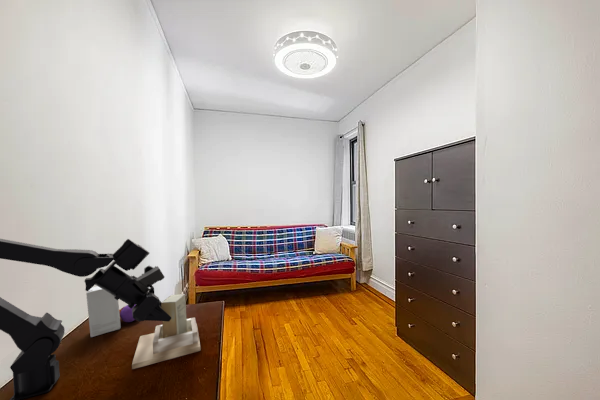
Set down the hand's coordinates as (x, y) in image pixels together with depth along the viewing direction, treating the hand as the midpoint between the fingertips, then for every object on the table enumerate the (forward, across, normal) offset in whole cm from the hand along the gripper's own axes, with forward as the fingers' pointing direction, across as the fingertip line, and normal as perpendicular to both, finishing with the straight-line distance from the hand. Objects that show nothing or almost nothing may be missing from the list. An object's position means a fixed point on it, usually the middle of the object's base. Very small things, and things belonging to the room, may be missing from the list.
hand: (167, 314), depth 76 cm
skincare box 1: (-4, +25, +18) cm, 31 cm away
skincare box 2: (+7, 0, +4) cm, 8 cm away
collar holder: (+6, 0, +6) cm, 9 cm away
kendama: (-2, +34, +15) cm, 37 cm away
